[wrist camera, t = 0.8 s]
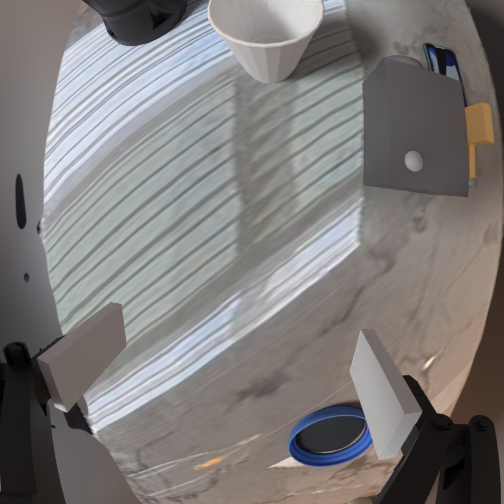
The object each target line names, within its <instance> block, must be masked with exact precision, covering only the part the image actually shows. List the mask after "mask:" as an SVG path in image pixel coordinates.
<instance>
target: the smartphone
mask: <svg viewBox="0 0 504 504" xmlns="http://www.w3.org/2000/svg"><path fill="white" fill-rule="evenodd" d="M423 48H424V52H425V56H426V59H427V63H428V67H429V70H430V71H433V72H436V73H439V74H442V75H445V76H448V77H450V78H453V79H455V80H458V81H461V85H462V91H463V98H464V105H465V108H466V107H468V106H467V100H466V95H465V90H464V85H463V81H462V77H461V72H460V68H459V65H458V61H457V57H456V54H455V53H454V51H452V50H451V49H448V48H445V47H442V46H438V45H435V44H432V43H428V42H426V43H425V44H423Z"/></svg>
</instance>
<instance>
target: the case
mask: <svg viewBox="0 0 504 504" xmlns="http://www.w3.org/2000/svg"><path fill="white" fill-rule="evenodd" d="M362 86H363V104H364V186H373V187H382V188H390V189H397V190H405V191H412V192H418V193H425V194H431V195H447V196H461V197H468V177H469V164H468V137H467V124H466V114H465V105H464V98H463V91H462V85H461V81H458V80H455V79H453V78H450V77H448V76H445V75H442V74H439V73H436V72H433V71H430V70H427V69H424V68H423V67H422V64H421V63H420V62H419V61H418V60H416V59H414V58H411V57H408V56H401V55H395V56H388V57H385V58H383V59H382V60H381V61H380V63H379V64H378V65H377V67H376V68H375V69H374V70H373V72H372V73H371V74H370V75H369V76H368V78H367V79H366V80H365V81H364V83H363V84H362Z"/></svg>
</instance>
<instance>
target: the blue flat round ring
mask: <svg viewBox="0 0 504 504" xmlns="http://www.w3.org/2000/svg"><path fill="white" fill-rule="evenodd" d="M364 421H365V422H364ZM364 423H366V427H365V431H364V433H363V435H362V436H361V437H360V438H359V440H357V441H356V442H355V443H354V444H352V445H351V446H349V447H347V448H345V449H342V450H340V451H336V452H332V453H314V452H326V451H333V450H337V449H341V448H343V447H345V446H347V445H349V444H350V443H351V442H353V441H354V440H355V439H356V438H357V437H358V436H359V434H360V433H361V432H362V430H363V428H364V426H365V424H364ZM372 443H373V440H372V437H371V434H370V430H369V427H368V424H367V421H366V418H365V415H364V412H363V411H361V410H359V409H357V408H353V407H346V406H338V407H330V408H325V409H322V410H319V411H316V412H314V413H312V414H310V415H308V416H306V417H305V418H303V419H302V420H301V421H300V422H299V423H298V424H297V425H296V426H295V427H294V429H293V431H292V434H291V436H290V439H289V442H288V450H289V453H290V455H291V456H292V457H293V458H294V459H295V460H296V461H298V462H300V463H302V464H304V465H308V466H313V467H327V466H334V465H338V464H342V463H345V462H348V461H350V460H352V459H354V458H356V457H358V456H359V455H361V454H362V453H364V452H365V451H366V450H367V449H368V448H369V447H370V446H371V444H372ZM310 451H313V452H310Z"/></svg>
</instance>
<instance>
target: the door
mask: <svg viewBox="0 0 504 504" xmlns="http://www.w3.org/2000/svg"><path fill="white" fill-rule="evenodd" d="M465 114H466V124H467V137H468V164H469V177H468V187H475V186H476V180H475V146H480V145H486V144H493V143H494V133H493V123H492V115H491V107H490V105H489V104H486V103H484V102H479V103H476V104H474V105H471V106H469V107H466V108H465Z"/></svg>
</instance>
